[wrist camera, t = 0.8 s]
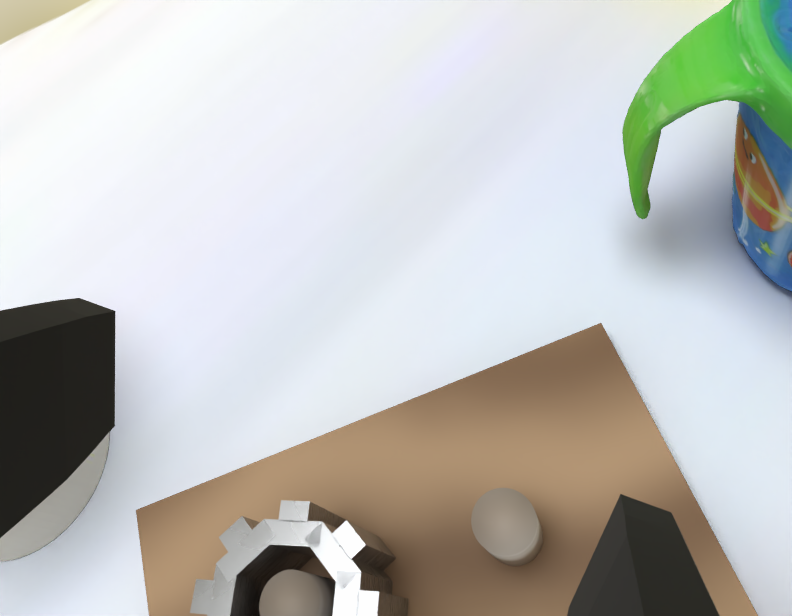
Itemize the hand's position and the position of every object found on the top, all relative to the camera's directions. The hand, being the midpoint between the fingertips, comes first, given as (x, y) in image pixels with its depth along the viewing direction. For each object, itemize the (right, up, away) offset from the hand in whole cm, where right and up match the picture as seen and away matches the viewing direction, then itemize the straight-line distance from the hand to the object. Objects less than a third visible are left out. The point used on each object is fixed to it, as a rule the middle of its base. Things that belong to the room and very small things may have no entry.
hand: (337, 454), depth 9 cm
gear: (-1, -8, +13) cm, 15 cm away
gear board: (+2, -7, +13) cm, 15 cm away
